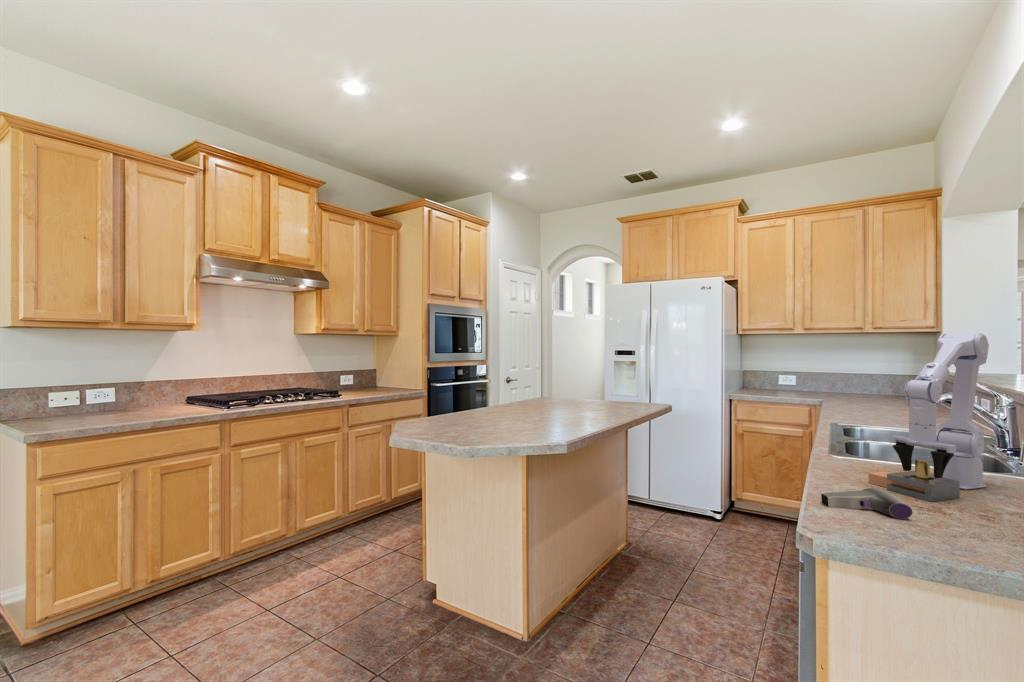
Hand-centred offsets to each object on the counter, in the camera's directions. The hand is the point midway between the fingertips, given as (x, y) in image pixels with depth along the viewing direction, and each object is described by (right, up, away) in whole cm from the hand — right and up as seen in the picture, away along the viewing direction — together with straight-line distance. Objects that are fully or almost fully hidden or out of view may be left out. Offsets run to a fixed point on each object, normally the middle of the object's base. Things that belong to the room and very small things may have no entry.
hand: (922, 474), depth 133 cm
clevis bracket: (0, -5, 0) cm, 5 cm away
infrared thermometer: (-26, -6, -14) cm, 30 cm away
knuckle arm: (-1, -5, +4) cm, 7 cm away
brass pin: (0, -5, 0) cm, 5 cm away
